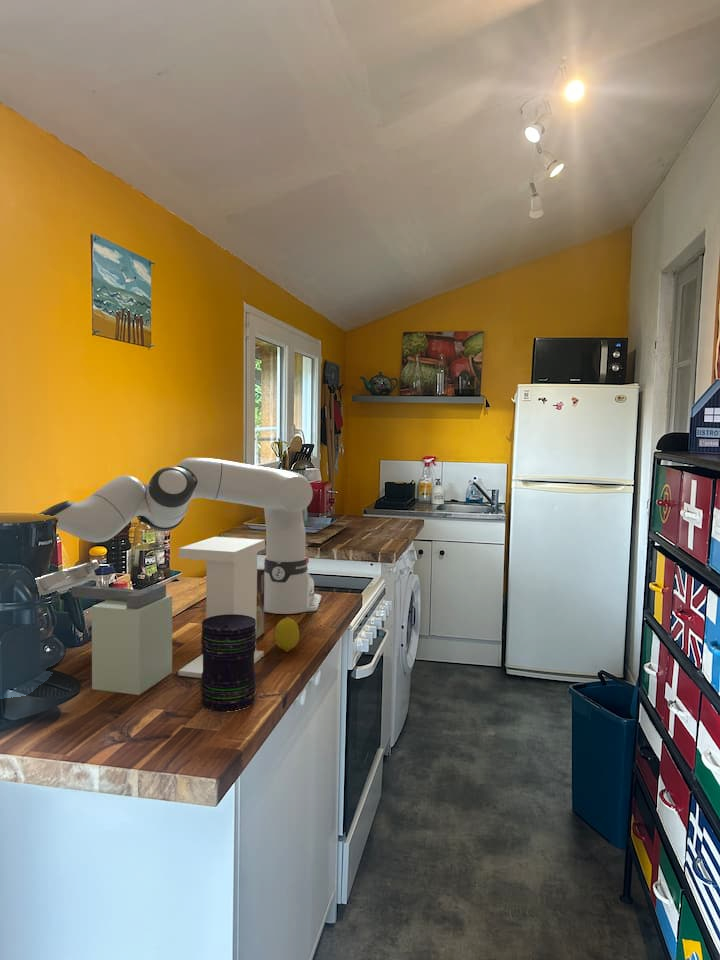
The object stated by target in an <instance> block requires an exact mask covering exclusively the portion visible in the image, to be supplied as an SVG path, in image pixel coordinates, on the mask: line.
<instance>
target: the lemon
mask: <svg viewBox="0 0 720 960" xmlns="http://www.w3.org/2000/svg"><path fill="white" fill-rule="evenodd" d="M274 639H275V640H274V641H275V643H276V645H277V647H278V648H280V649H282V650H283V651H284V652H286V653H289V651H291V650H292V649H294V648H295V647H296V646H297V645H298V642H299V640H300V629H299V625H298V623H297V622H296V621H295V620H293V618H290V617H289V616H286V617H285V618H282V619H281V620H279V621H278V623H277V624H276V626H275V629H274Z"/></svg>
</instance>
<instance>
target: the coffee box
mask: <svg viewBox="0 0 720 960" xmlns="http://www.w3.org/2000/svg"><path fill="white" fill-rule="evenodd" d="M264 570H265V569H264V568H263V569H261V568H257V613H256V640H257V639H258V638H259V637H261V636H262V635H263V634H264V633H265V611H264V573H265V571H264Z"/></svg>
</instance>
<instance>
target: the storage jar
mask: <svg viewBox="0 0 720 960" xmlns="http://www.w3.org/2000/svg"><path fill="white" fill-rule="evenodd" d="M255 626H256V620H255V619H254V618H252V617H250V616H246V615H237V614H227V615H218V616H213V617H209V618H206V617H205V619H203V620H202V622H201V629H202V630H201V636H200V644H201V646H200V647H201V648H200V650H201V655H202V654H203V672H202V678H200V679H201V682H200V691H201V693H200V694H201V702H200V704H201V706H202V708H203V707H204V709H205V710H207V709H208V710H207V711H209V710H211V711H210V712H213V711H217V712H216V713H220V712H227V711H235V710H239V709H243V708H246V707H248V706H250V705H252V704H253V702H254V701H256V698H255V692H256V690H255V689H256V687H257V686H256V683H257V682H256V671H255V664H254V652H255V648H256V649H257V644H256V645H255V642H256V643H257V639H256V628H255ZM254 703H255V702H254ZM253 705H254V704H253ZM253 705H252V706H253ZM250 707H251V706H250Z"/></svg>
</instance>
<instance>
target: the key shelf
mask: <svg viewBox="0 0 720 960" xmlns="http://www.w3.org/2000/svg"><path fill="white" fill-rule="evenodd" d="M264 550H266V539H259V538H257V539H256V538H243V537H241V538H240V537H229V536H228V537H227V536H226V537H224V536H212V537H210V538H206V539H203V540H199V541H198V542H194V543H190V544H187V545H184V546H182V547H179V548H178V559H185V560H187V559H188V560H197V561H198V560H199V561H206V569H205V570H206V575H205V576H206V577H205V578H206V579H205V580H206V581H205V582H206V583H205V585H206V587H205V590H206V591H205V592H206V594H205V595H206V596H205V597H206V598H205V600H206V601H205V605H206V606H205V619H206V618H209V617H213V616H218V615H227V614H237V615H246V616H250V617H252V618H254V619H255V620H256V613H257V569H258V553H259V552H261V551H264ZM255 628H256V626H255ZM255 645H256V646H257V641H256V642H255ZM264 656H265V653H264V650H257V647H256V648H255V652H254V665H255V664H256V663H257V662H259V660H260V659H261V657H262V658H263V657H264ZM202 672H203V654H202V653H201V654H200V655H199V656H198V657H196V658H195V659H194V660H191V661H190V662H189V663H187V664H186V665H185V666H183V667H182V668H180V669H179V670H178V672H177V673H178V676H180V677H181V676H182V677H190V678H199V679H201V678H202Z"/></svg>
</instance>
